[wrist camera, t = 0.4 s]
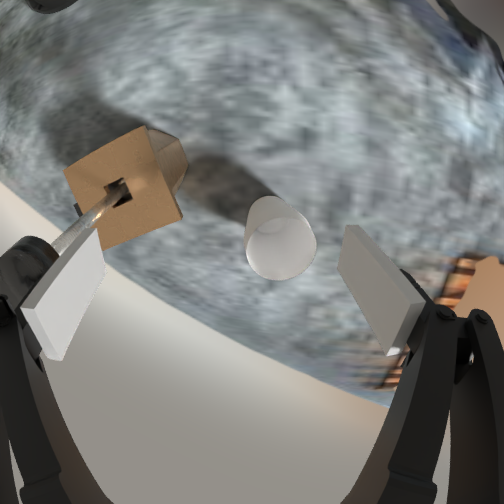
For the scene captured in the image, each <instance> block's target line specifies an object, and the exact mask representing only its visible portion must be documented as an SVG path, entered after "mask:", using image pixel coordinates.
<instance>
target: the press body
mask: <svg viewBox="0 0 504 504" xmlns="http://www.w3.org/2000/svg"><path fill="white" fill-rule="evenodd" d="M188 166H189V164H188V161H187V159H186V156H185V154H184V151H183V148H182V146H181V143H180V141H179V139H177V138H175V137H172V136H170V135H167V134H165V133H162V132H160V131H157V130H155V129H151V130H148V131H147V128H146V126H145V125H144V126H141V127H139V128H137V129H135V130H133V131H131V132H129V133H127V134H125V135H123V136H121V137H119V138H117V139H115V140H113V141H111V142H110V143H108V144H106V145H104V146H102V147H100V148H99V149H97V150H95V151H93V152H92V153H90V154H88V155H87V156H85V157H83V158H82V159H80V160H78V161H77V162H75V163H74V164H72V165H70V166H69V167H67V168H66V169H64V170H63V172H64V174H65V177H66V179H67V181H68V183H69V186H70V188H71V190H72V192H73V194H74V197H75V199H76V201H77V203H76V204H74V207H75V209H76V211H77V213H78V215H79V217H81V216H82V215H83V214H85V213H86V212H87V211H88V210H89V209H90V208H92V207H93V206H94V205H95V204H96V203H98V202H99V201H100V200H101V199H102V198H104V197H105V196H106V195H107V194H109V193H110V190H109V188H108V186H107V185H108V184H110V183H112V182H114V181H116V180H118V179H120V178H122V177H124V180H125V182H126V184H127V186H128V189H129V191H130V193H131V195H132V197H133V198H132V199H130V200H127V201H125V202H123V203H121V204H119V205H116V203H115V204H114V205H113V206H112V207H111V208H110V209H109V210H108V211H107V212H106V213H105V214H104V215H102V216H101V217H100V218H99V219H98V220H97V221H96V222H95V223H94V224H93V225H92V226H91V227H90V228H97V232H98V237H99V242H100V246H101V249H102V251H104V250H106V249H108V248H111V247H113V246H116V245H118V244H120V243H123V242H125V241H128V240H130V239H133V238H135V237H138V236H140V235H143V234H145V233H148V232H150V231H153V230H155V229H158V228H160V227H163V226H166V225H168V224H171V223H173V222H176V221H179V220H181V219H182V217H183V215H182V212H181V210H180V208H179V205H178V203H177V201H176V199H175V194H176V193H177V191H178V189H179V187H180V184H181V182H182V180H183V177H184V175H185V173H186V171H187V168H188Z"/></svg>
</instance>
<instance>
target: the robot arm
mask: <svg viewBox="0 0 504 504" xmlns="http://www.w3.org/2000/svg"><path fill="white" fill-rule="evenodd" d="M76 1H77V0H26V2H27V3H28V5H29V6H30V7H31V8H32V9H33V10H35V11H37V12H40V13H43V14H51V13H55V12H58V11H61V10H63V9H65V8H67V7H69V6H70V5H72V4H73V3H75V2H76ZM337 270H338V271H339V273H340V275H341V276H342V278H343V280H344V281H345V283H346V285H347V287H348V288H349V290H350V292H351V293H352V295H353V297H354V299H355V300H356V302H357V304H358V305H359V307H360V309H361V311H362V313H363V314H364V316H365V318H366V320H367V321H368V323H369V325H370V327H371V329H372V331H373V332H374V334H375V336H376V338H377V340H378V342H379V343H380V345H381V347H382V349H383V351H384V353H385V355H386V356H390V355H394V354H399V353H401V352H402V350H403V348H404V346H405V345H406V343H407V344H408V346H409V348H410V351H409V352H408V354H407V356H406V358H405V359H404V361H403V363H402V365H401V366H400V367H403V366H404V367H403V370H402V374H401V377H400V380H399V383H398V386H397V389H396V392H395V395H394V398H393V400H392V403H391V406H390V409H389V411H388V414H387V416H386V419H385V421H384V424H383V426H382V429H381V431H380V433H379V436H378V438H377V441H376V443H375V445H374V447H373V449H372V451H371V454H370V456H369V458H368V460H367V462H366V464H365V466H364V468H363V470H362V472H361V473H360V475H359V477H358V479H357V481H356V483H355V485H354V486H353V488H352V490H351V491H350V493H349V494H348V495H347V496H346V497H345V499H344V500H343V501H342V502H341V504H433V503H434V501H435V498H436V494H437V485H436V484H435V483H433V482H432V478H433V474H434V471H435V467H436V464H437V461H438V457H439V454H440V449H441V446H442V442H443V438H444V434H445V429H446V425H447V420H448V415H449V409H450V432H451V450H450V475H449V487H448V496H447V504H504V350H503V347H502V345H501V342H500V339H499V336H498V333H497V331H496V328H495V325H494V323H493V320H492V319H491V317H490V316H489V315H488V314H487V313H486V312H484V311H483V310H479V309H473V310H471V312H470V314H469V316H468V318H461V317H457V316H456V314H455V312H454V311H453V310H451V309H450V308H448V307H447V306H444V305H440V304H439V305H435V304H434V302H433V301H432V300H431V299H430V297H429V296H428V295H427V294H426V293H425V291H424V290H423V289H422V288H420V286H419V284H418V283H416V281H415V280H414V279H413V277H412V276H411V275H410V274H408V273H407V272H405V271H404V270H402V269H398V268H397V266H396V265H395V264H394V263H393V262H392V261H391V260H390V258H389V257H388V256H387V255H386V254H385V253H384V252H383V251H382V250H381V249H380V247H379V246H378V245H377V244H376V243H375V242H374V241H373V240H372V239H371V238H370V237H369V236H368V235H367V234H366V232H365V231H364V230H363V229H362V228H361V227H360V226H359V225H346V227H345V232H344V237H343V243H342V248H341V253H340V258H339V262H338V267H337ZM106 273H107V271H106V267H105V263H104V259H103V255H102V250H101V246H100V242H99V237H98V232H97V228H85V229H84V230H83V231H82V232H81V233H80V234H79V235H78V236H77V237H76V239H75V240H74V241H73V242H72V243H71V244H70V245H69V246H68V248H67V249H66V250H65V251H64V252H63V253H62V254H61V256H60V257H59V258H58V259H57V260H56V262H55V263H54V264H53V265H52V266H51V268H50V269H49V270H48V271H47V272H46V274H45V275H43V276H42V277H40V278H39V279H38V280H36V282H35V283H34V284H33V285H32V287H31V289H29V291H28V292H27V295H25V296H24V297H23V299H22V300H21V301H20V303H19V304H18V306H17V307H16V308H15V310H14V309H13V307H12V305H11V303H10V301H9V299H8V296H7V295H5V294H0V504H19V501H18V497H17V492H16V487H15V482H14V477H13V470H12V464H11V456H10V447H9V440H10V443H11V446H12V450H13V453H14V456H15V459H16V462H17V465H18V468H19V470H20V472H21V476H22V478H23V481H24V487H22V488H21V489H20V497H21V501H22V503H23V504H114V503H113V502H111V501H110V500H109V499H108V498H107V497H106V495H105V494H104V493H103V491H102V490H101V488H100V487H99V485H98V484H97V482H96V480H95V479H94V477H93V476H92V474H91V472H90V470H89V469H88V467H87V466H86V463H85V462H84V460H83V458H82V456H81V454H80V453H79V450H78V448H77V447H76V445H75V443H74V441H73V439H72V436H71V434H70V432H69V430H68V428H67V426H66V423H65V421H64V419H63V417H62V414H61V412H60V409H59V407H58V404H57V402H56V399H55V397H54V394H53V391H52V389H51V386H50V383H49V380H48V377H47V374H46V371H45V368H44V365H43V361H42V359H41V358H40V356H39V354H40V352H41V350H42V349H43V351H44V353H45V354H46V356H47V358H48V359H52V360H58V361H62V359H63V357H64V355H65V353H66V350H67V348H68V346H69V344H70V342H71V339H72V337H73V335H74V333H75V331H76V329H77V327H78V325H79V323H80V321H81V319H82V317H83V315H84V313H85V311H86V309H87V307H88V305H89V303H90V302H91V299H92V298H93V296H94V294H95V292H96V291H97V289H98V287H99V285H100V283H101V282H102V280H103V278H104V276H105V275H106ZM473 357H474V360H473V363H472V358H473Z"/></svg>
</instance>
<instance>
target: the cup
mask: <svg viewBox="0 0 504 504" xmlns="http://www.w3.org/2000/svg"><path fill="white" fill-rule="evenodd" d="M316 247H317V246H316V239H315V236H314V234H313V232H312V229H311V227H310V225H309V223H308V221H307V220H306V219H305V218H304V216H303V215H301V214H300V213H299V212H298V211H296V210H295V209H294V208H293V207H291V206H290V205H289V204H287V203H286V202H285V201H283V200H282V199H280V198H278V197H276V196H264V197H261V198H259V199H258V200H256V201H255V202H254V203H253V204H252V206H251V207H250V210H249V213H248V218H247V223H246V228H245V233H244V248H245V251H246V255H247V259H248V262H249V264H250V266H251V267H252V269H253V270H254V271H255V272H256V273H257V274H259V275H260V276H262V277H264V278H267V279H270V280H287V279H290V278H293V277H296V276H297V275H299V274H301V273H302V272H304V271H305V270H306V269H307V268H308V267H309V265H310V264H311V263H312V261H313V259H314V257H315V253H316Z"/></svg>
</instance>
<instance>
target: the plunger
mask: <svg viewBox="0 0 504 504" xmlns="http://www.w3.org/2000/svg"><path fill="white" fill-rule="evenodd" d="M107 186H108V188H109V190H110V193H109V194H107V195H106V196H105V197H104V198H102V199H101V200H100V201H99V202H98V203H96V204H95V205H94V206H93V207H92V208H90V209H89V210H88V211H87V212H86V213H85V214H83V215H82V216H81V217H80V218H79V219H78V220H77V221H75V222H74V223H73V224H72V225H71V226H70V227H69V228H68V229H67V230H66V231H64V232H63V233H62V234H61V235H60V236H59V237H58V238H57V239H56V240H55V241H54V242H53V243H52V244H51V245H50V244H49V243H47V242H46V241H44V240H42V239H41V238H38V237H35V236H26V237H23V238H21V239H20V240H19V241H18V242H17V243H15V244H14V245H13V246H12V247H11V248H10V249H9V250H8V251H6V252H5V253H4V254H3V255H2V256H1V257H0V294H5V295H7V296H8V299H9V301H10V303H11V305H12V307H13V309H14V310H15V308H16V307H17V306H18V304H19V303H20V301H21V300H22V299H23V297H24V296H25V295H27V292H28V291H29V289H31V287H32V285H33V284H34V283H35V282H36V280H38V279H39V278H40V277H42V276H43V275H45V274H46V272H47V271H48V270H49V269H50V268H51V266H52V265H53V264H54V263H55V262H56V260H57V259H58V258H59V257H60V256H61V254H62V253H63V252H64V251H65V250H66V249H67V248H68V246H69V245H70V244H71V243H72V242H73V241H74V240H75V239H76V237H77V236H78V235H79V234H80V233H81V232H82V231H83V230H84V229H85V228H90V227H91V226H92V225H93V224H94V223H95V222H96V221H97V220H98V219H99V218H100V217H101V216H102V215H104V214H105V213H106V212H107V211H108V210H109V209H110V208H111V207H112V206H113V205H114V204H115V203H116V205H119V204H121V203H123V202H125V201H127V200H130V199H132V198H133V197H132V195H131V193H130V191H129V189H128V186H127V184H126V182H125V180H124V177H122V178H120V179H118V180H116V181H114V182H112V183H110V184H108V185H107Z"/></svg>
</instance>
